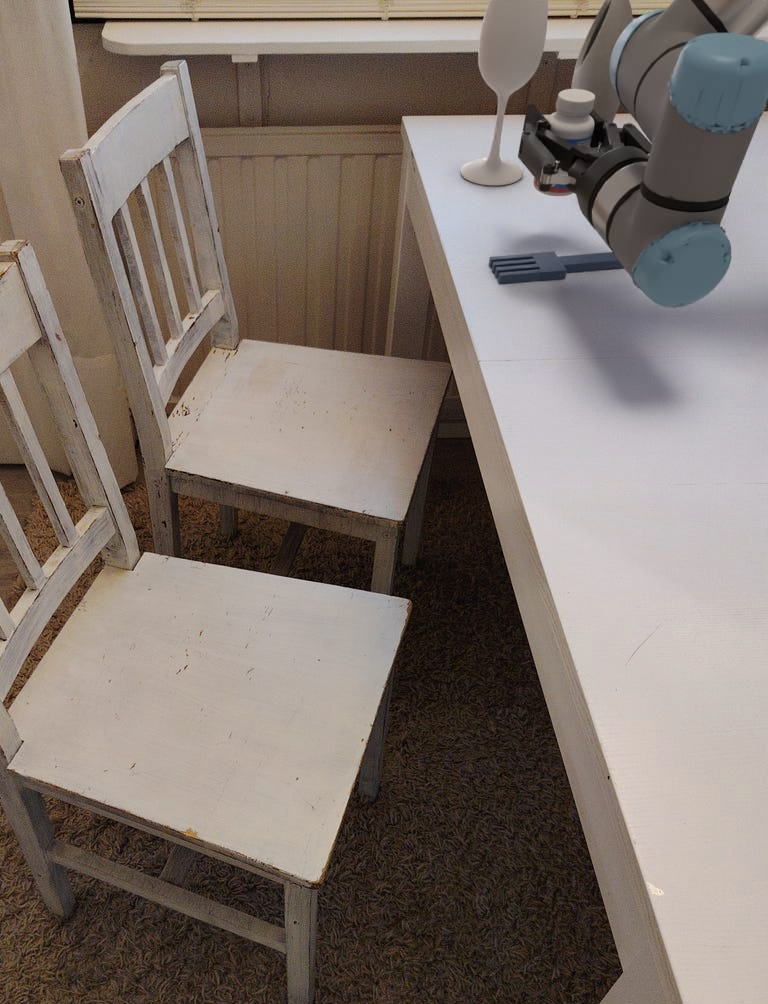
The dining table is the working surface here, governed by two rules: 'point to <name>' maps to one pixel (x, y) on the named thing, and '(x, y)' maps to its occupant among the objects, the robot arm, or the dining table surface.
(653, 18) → the robot arm
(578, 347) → the dining table surface
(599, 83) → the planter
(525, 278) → the serving fork
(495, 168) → the wineglass
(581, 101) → the pill bottle
